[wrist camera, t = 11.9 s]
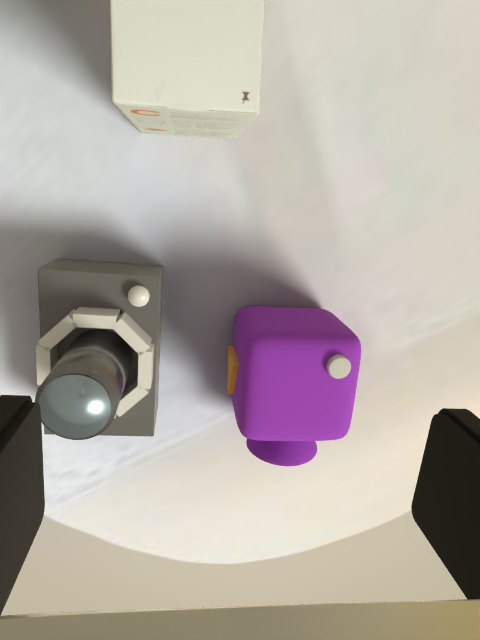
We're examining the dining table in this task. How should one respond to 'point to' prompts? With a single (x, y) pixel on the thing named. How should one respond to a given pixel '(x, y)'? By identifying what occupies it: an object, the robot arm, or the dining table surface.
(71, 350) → the lens
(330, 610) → the robot arm
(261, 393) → the toy camera
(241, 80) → the small box
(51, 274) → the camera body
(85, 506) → the dining table surface
